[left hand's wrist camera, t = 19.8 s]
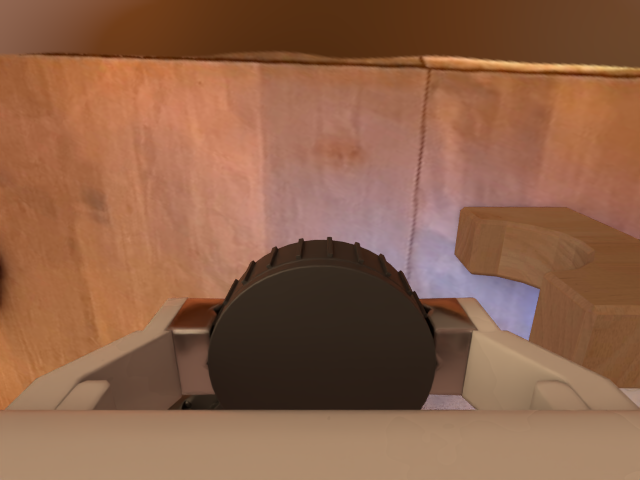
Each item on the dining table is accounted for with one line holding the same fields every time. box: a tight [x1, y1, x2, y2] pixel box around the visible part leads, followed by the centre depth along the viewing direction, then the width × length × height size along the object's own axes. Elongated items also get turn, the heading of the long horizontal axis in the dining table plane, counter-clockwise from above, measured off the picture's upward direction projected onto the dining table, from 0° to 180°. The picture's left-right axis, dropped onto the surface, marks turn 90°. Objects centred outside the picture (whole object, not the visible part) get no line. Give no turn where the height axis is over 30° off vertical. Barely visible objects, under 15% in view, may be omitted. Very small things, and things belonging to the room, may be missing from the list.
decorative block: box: [455, 207, 640, 389], centre depth 30 cm, size 11×6×20 cm, turn 89°
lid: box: [208, 237, 436, 410], centre depth 9 cm, size 5×5×2 cm
